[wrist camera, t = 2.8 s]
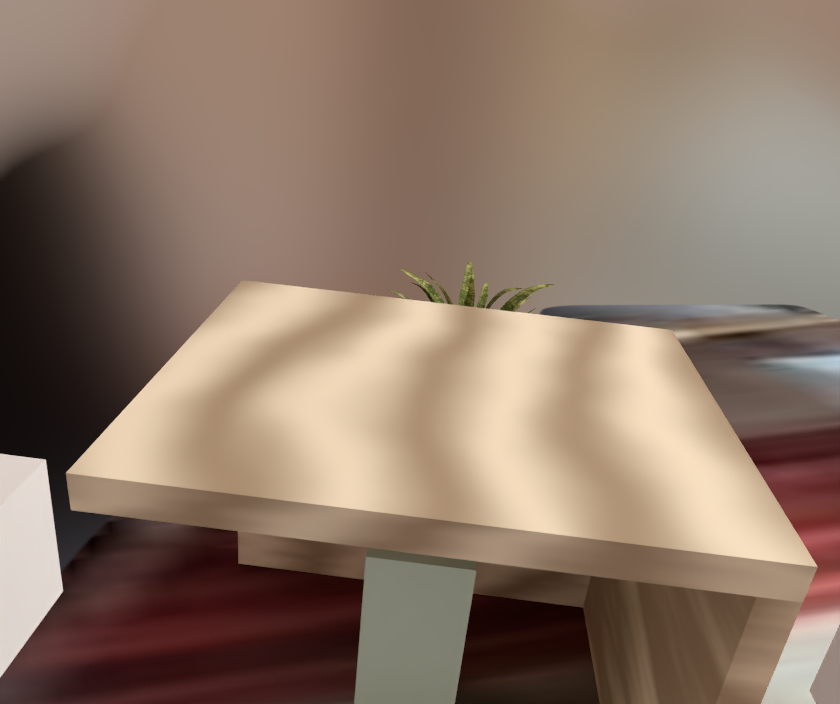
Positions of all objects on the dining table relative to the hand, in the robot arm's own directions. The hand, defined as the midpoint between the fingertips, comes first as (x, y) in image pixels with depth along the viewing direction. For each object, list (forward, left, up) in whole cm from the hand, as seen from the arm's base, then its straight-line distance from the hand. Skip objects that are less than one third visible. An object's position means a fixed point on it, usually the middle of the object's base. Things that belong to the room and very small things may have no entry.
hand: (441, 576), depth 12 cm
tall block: (0, -19, -26) cm, 32 cm away
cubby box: (0, -19, -26) cm, 32 cm away
